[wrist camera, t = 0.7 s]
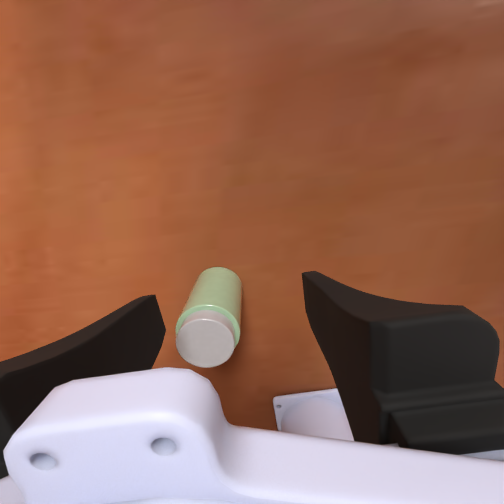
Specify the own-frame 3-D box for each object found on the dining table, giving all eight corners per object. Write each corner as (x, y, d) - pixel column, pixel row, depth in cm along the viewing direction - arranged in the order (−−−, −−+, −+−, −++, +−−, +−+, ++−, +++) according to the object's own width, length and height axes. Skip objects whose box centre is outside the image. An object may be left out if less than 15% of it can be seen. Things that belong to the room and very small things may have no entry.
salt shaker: (245, 305, 23) (244, 367, 16) (200, 312, 23) (180, 376, 16) (237, 263, 22) (232, 309, 15) (189, 270, 22) (162, 320, 15)
